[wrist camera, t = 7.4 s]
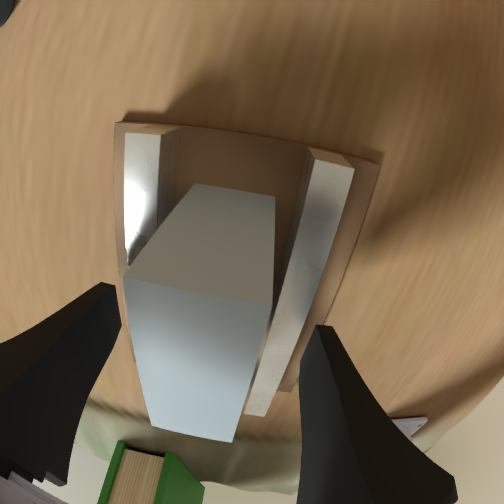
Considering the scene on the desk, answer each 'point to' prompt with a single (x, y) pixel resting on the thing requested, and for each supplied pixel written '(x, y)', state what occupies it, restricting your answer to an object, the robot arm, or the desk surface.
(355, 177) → the track floor
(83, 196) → the desk surface
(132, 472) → the hardback book
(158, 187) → the track rails
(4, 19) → the vaping device
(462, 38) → the desk surface
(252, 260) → the pale blue rectangular block
